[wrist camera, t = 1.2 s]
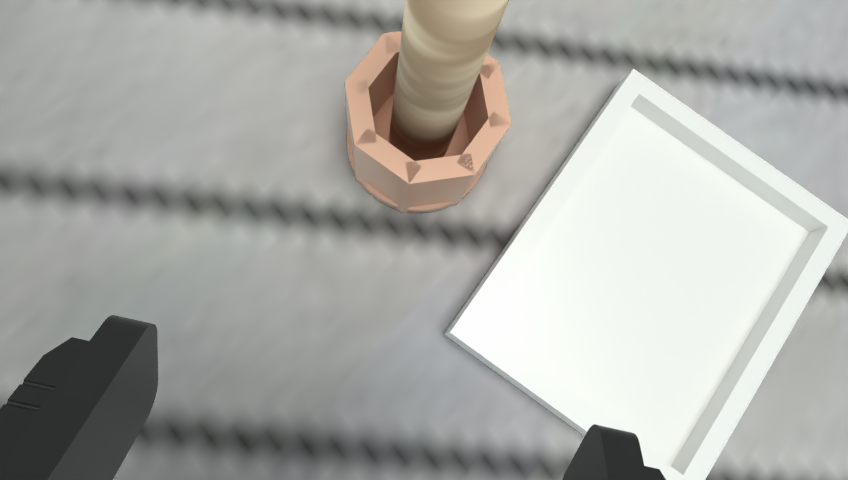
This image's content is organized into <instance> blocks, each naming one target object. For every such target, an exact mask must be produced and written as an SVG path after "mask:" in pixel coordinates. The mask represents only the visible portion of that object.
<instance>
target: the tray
mask: <svg viewBox="0 0 848 480" xmlns="http://www.w3.org/2000/svg"><path fill="white" fill-rule="evenodd" d="M847 233H848V219H847V218H845V217H844V216H842V215H841V214H840V213H838V212H837V211H835V210H834V209H832V208H831V207H830V206H828V205H827V204H825V203H824V202H822V201H821V200H820V199H818V198H817V197H815V196H814V195H813V194H811V193H810V192H808V191H807V190H805V189H804V188H803V187H801V186H800V185H798V184H797V183H795V182H794V181H793V180H791V179H790V178H788V177H787V176H786V175H784V174H783V173H781V172H780V171H778V170H777V169H776V168H774V167H773V166H771V165H770V164H768V163H767V162H766V161H764V160H763V159H761V158H760V157H758V156H757V155H756V154H754V153H753V152H751V151H750V150H749V149H747V148H746V147H744V146H743V145H741V144H740V143H739V142H737V141H736V140H734V139H733V138H731V137H730V136H729V135H727V134H726V133H724V132H723V131H721V130H720V129H719V128H717V127H716V126H714V125H713V124H712V123H710V122H709V121H707V120H706V119H704V118H703V117H702V116H700V115H699V114H697V113H696V112H694V111H693V110H692V109H690V108H689V107H687V106H686V105H685V104H683V103H682V102H680V101H679V100H677V99H676V98H675V97H673V96H672V95H670V94H669V93H667V92H666V91H665V90H663V89H662V88H660V87H659V86H657V85H656V84H655V83H653V82H652V81H650V80H649V79H648V78H646V77H645V76H643V75H642V74H640V73H639V72H638V71H636V70H635V69H632V71H631V72H630V73H629V74H628V75H627V76H626V77H625V78H624V79H623V80H622V81H621V82H620V83H619V84H618V86H617V87H616V88H615V89H614V91H613V92H612V94H611V95H610V96H609V98H608V99H607V101H606V102H605V104H604V105H603V106H602V108H601V109H600V111H599V112H598V114H597V115H596V116H595V118H594V119H593V121H592V122H591V124H590V125H589V127H588V128H587V129H586V131H585V132H584V134H583V135H582V137H581V138H580V139H579V141H578V142H577V144H576V145H575V147H574V148H573V150H572V151H571V152H570V154H569V155H568V157H567V158H566V160H565V161H564V162H563V164H562V165H561V167H560V168H559V170H558V171H557V172H556V174H555V175H554V177H553V178H552V180H551V181H550V183H549V184H548V185H547V187H546V188H545V190H544V191H543V193H542V194H541V195H540V197H539V198H538V200H537V201H536V203H535V204H534V205H533V207H532V208H531V210H530V211H529V213H528V214H527V216H526V217H525V218H524V220H523V221H522V223H521V224H520V226H519V227H518V228H517V230H516V231H515V233H514V234H513V236H512V237H511V238H510V240H509V241H508V243H507V244H506V246H505V247H504V249H503V250H502V251H501V253H500V254H499V256H498V257H497V259H496V260H495V261H494V263H493V264H492V266H491V267H490V269H489V270H488V271H487V273H486V274H485V276H484V277H483V279H482V280H481V282H480V283H479V284H478V286H477V287H476V289H475V290H474V292H473V293H472V294H471V296H470V297H469V299H468V300H467V302H466V303H465V304H464V306H463V307H462V309H461V310H460V312H459V313H458V315H457V316H456V317H455V319H454V320H453V322H452V323H451V325H450V326H449V327H448V329H447V330H446V332H445V333H444V335H446V336H447V337H448V338H450V339H451V340H452V341H454V342H455V343H457V344H458V345H459V346H461V347H462V348H464V349H465V350H466V351H468V352H469V353H470V354H472V355H473V356H475V357H476V358H477V359H479V360H480V361H481V362H483V363H484V364H486V365H487V366H488V367H490V368H491V369H493V370H494V371H495V372H497V373H498V374H499V375H501V376H502V377H504V378H505V379H506V380H508V381H509V382H511V383H512V384H513V385H515V386H516V387H517V388H519V389H520V390H522V391H523V392H524V393H526V394H527V395H528V396H530V397H531V398H533V399H534V400H535V401H537V402H538V403H540V404H541V405H542V406H544V407H545V408H546V409H548V410H549V411H551V412H552V413H553V414H555V415H556V416H558V417H559V418H560V419H562V420H563V421H564V422H566V423H567V424H569V425H570V426H571V427H573V428H574V429H576V430H577V431H578V432H580V433H581V434H582V435H584V436H585V435H586V433H587V431H588V430H589V428H590V427H591V426H592V425H594V424H596V425H600V426H604V427H609V428H613V429H618V430H622V431H627V432H631V433H634V434H636V436H637V437H638V440H639V443H640V448H641V452H642V457H643V462H644V466H647V467H652V468H657V469H660V471H661V473H662V474H663V476H664V477H665V479H666V480H705V479H706V477H707V475H708V474H709V472H710V470H711V469H712V467H713V465H714V463H715V462H716V460H717V458H718V456H719V455H720V453H721V451H722V449H723V448H724V446H725V444H726V443H727V441H728V439H729V437H730V436H731V434H732V432H733V430H734V429H735V427H736V425H737V423H738V422H739V420H740V418H741V417H742V415H743V413H744V411H745V410H746V408H747V406H748V404H749V403H750V401H751V399H752V397H753V396H754V394H755V392H756V391H757V389H758V387H759V385H760V384H761V382H762V380H763V378H764V377H765V375H766V373H767V371H768V370H769V368H770V366H771V365H772V363H773V361H774V359H775V358H776V356H777V354H778V352H779V351H780V349H781V347H782V345H783V344H784V342H785V340H786V339H787V337H788V335H789V333H790V332H791V330H792V328H793V326H794V325H795V323H796V321H797V319H798V318H799V316H800V314H801V313H802V311H803V309H804V307H805V306H806V304H807V302H808V300H809V299H810V297H811V295H812V293H813V292H814V290H815V288H816V287H817V285H818V283H819V281H820V280H821V278H822V276H823V274H824V273H825V271H826V269H827V267H828V266H829V264H830V262H831V261H832V259H833V257H834V255H835V254H836V252H837V250H838V248H839V247H840V245H841V243H842V241H843V240H844V238H845V236H846V235H847Z"/></svg>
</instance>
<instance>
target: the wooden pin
mask: <svg viewBox="0 0 848 480" xmlns="http://www.w3.org/2000/svg"><path fill="white" fill-rule="evenodd" d="M508 1H509V0H405V8H404V17H403V25H402V33H401V41H400V50H399V58H398V66H397V74H396V82H395V91H394V99H393V107H392V115H391V124H390V132H389V143H390V144H391V145H393V146H394V147H396V148H397V149H398V150H400V151H401V152H403V153H404V154H405V155H407V156H408V157H410V158H411V159H412V160H414V161H419V160H426V159H434V158H441V157H444V155H445V154H446V152H447V150H448V148H449V145H450V143H451V140H452V138H453V135H454V133H455V131H456V128H457V126H458V123H459V121H460V118H461V116H462V114H463V111H464V109H465V106H466V104H467V101H468V99H469V97H470V94H471V92H472V89H473V87H474V84H475V82H476V79H477V77H478V75H479V72H480V70H481V67H482V65H483V62H484V60H485V58H486V55H487V53H488V50H489V48H490V45H491V43H492V40H493V38H494V36H495V33H496V31H497V28H498V26H499V23H500V21H501V19H502V16H503V14H504V11H505V9H506V6H507V4H508Z"/></svg>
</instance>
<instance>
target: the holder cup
mask: <svg viewBox="0 0 848 480" xmlns="http://www.w3.org/2000/svg"><path fill="white" fill-rule="evenodd" d="M401 33H402V31H399V32H390V33H383V35H382V36H381V37H380V38H379V40H378V41H377V42H376V43H375V45H374V46H373V47H372V48H371V50H370V51H369V52H368V53H367V55H366V56H365V57H364V58H363V60H362V61H361V62H360V63H359V65H358V66H357V67H356V68H355V70H354V71H353V72H352V73H351V75H350V76H349V77H348V78H347V80H346V81H345V96H346V112H347V127H348V128H347V149H348V156H349V161H350V164H351V167H352V169H353V172H354V174H355V178H356V180H357V181H358V182H359V183H361V185H362V186H363V187H364V188H365V189H366V191H367V192H368V193H369V194H371V195H372V196H373V197H374V198H375V199H377V200H378V201H380V202H382V203H383V204H385V205H387V206H389V207H391V208H394V209H397V210H398V211H400V212H401V213H403V212H410V213H427V212H433V211H438V210H441V209H444V208H447V207H449V206H451V205H457V203H458V202H459V200H461V199H462V198H463V197H464V196H466V195H467V194H468V193H469V192H470V191H471V189H472V188H473V187H474V186H475V185H476V183H477V181H478V180H479V178H480V177H481V175H482V174H483V172H484V169H485V167H486V165H487V162H488V160H489V159H490V157H491V156H492V154H493V153H494V151H495V149H496V148H497V146H498V145H499V143H500V142H501V140H502V138H503V137H504V135H505V134H506V132H507V131H508V129H509V128H510V126H511V119H510V114H509V108H508V103H507V98H506V93H505V88H504V83H503V78H502V73H501V68H500V63H499V62H497V61H496V60H495V59H493V58H492V57H490V56H489V55H488V54H487V55H486V58H485V60H484V62H483V65H482V67H481V70H480V72H479V75H478V77H477V79H476V82H475V84H474V87H473V89H472V92H471V94H470V97H469V99H468V101H467V104H466V106H465V109H464V111H463V114H462V116H461V118H460V121H459V123H458V126H457V128H456V131H455V133H454V135H453V138H452V140H451V143H450V145H449V148H448V150H447V152H446V154H445V155H444V157H441V158H434V159H426V160H419V161H414V160H412V159H411V158H410V157H408V156H407V155H405V154H404V153H403V152H401V151H400V150H398V149H397V148H396V147H394V146H393V145H391V144H390V143H389V132H390V124H391V115H392V107H393V99H394V91H395V82H396V74H397V66H398V58H399V50H400V41H401Z"/></svg>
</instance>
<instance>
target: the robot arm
mask: <svg viewBox="0 0 848 480" xmlns="http://www.w3.org/2000/svg"><path fill="white" fill-rule="evenodd" d="M157 386H158V351H157V328H156V325H154V324H150V323H146V322H141V321H137V320H133V319H128V318H124V317H119V316H115V315H112V316H110V317H108V318H107V319H106V320H105V321H104V322H103V324H102V325H101V327H100V328H99V329H98V331H97V332H96V333H95V335H94V336H93V337H92V339H91V340H90V341H86V340H81V339H77V338H70V339H69V340H67V341H66V342H64V343H62V344H61V345H59V346H58V347H56V348H55V349H53V350H51V351H50V352H48V353H47V354H45V355H43V357H42V358H41V359H40V360H39V362H38V363H37V364H36V365H35V366H34V368H33V369H32V370H31V371H30V373H29V374H28V375H27V376H26V378H25V379H24V382H23V384H22V385H21V384H20V385H19V386H18V388H17V389H16V390H15V391H14V393H13V394H12V395H11V396H10V398H9V399H8V402H7V404H6V405H3V406H2V407H1V409H0V480H113V478H114V476H115V474H116V473H117V471H118V469H119V467H120V465H121V464H122V462H123V460H124V458H125V457H126V455H127V453H128V451H129V449H130V448H131V446H132V444H133V442H134V440H135V439H136V437H137V435H138V433H139V432H140V430H141V428H142V426H143V424H144V423H145V421H146V419H147V417H148V415H149V413H150V411H151V408H152V406H153V403H154V400H155V396H156V392H157ZM563 480H666V479H665V477H664V476H663V474H662V473H661V471H660V469H657V468H652V467H647V466H644V462H643V457H642V452H641V448H640V443H639V440H638V437H637V436H636V434H634V433H631V432H627V431H622V430H618V429H613V428H609V427H604V426H600V425H596V424H594V425H592V426H591V427H590V428H589V430H588V431H587V433H586V435H585V437H584V439H583V441H582V443H581V444H580V446H579V448H578V450H577V452H576V454H575V456H574V457H573V459H572V461H571V463H570V465H569V467H568V469H567V470H566V472H565V474H564V477H563Z"/></svg>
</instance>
